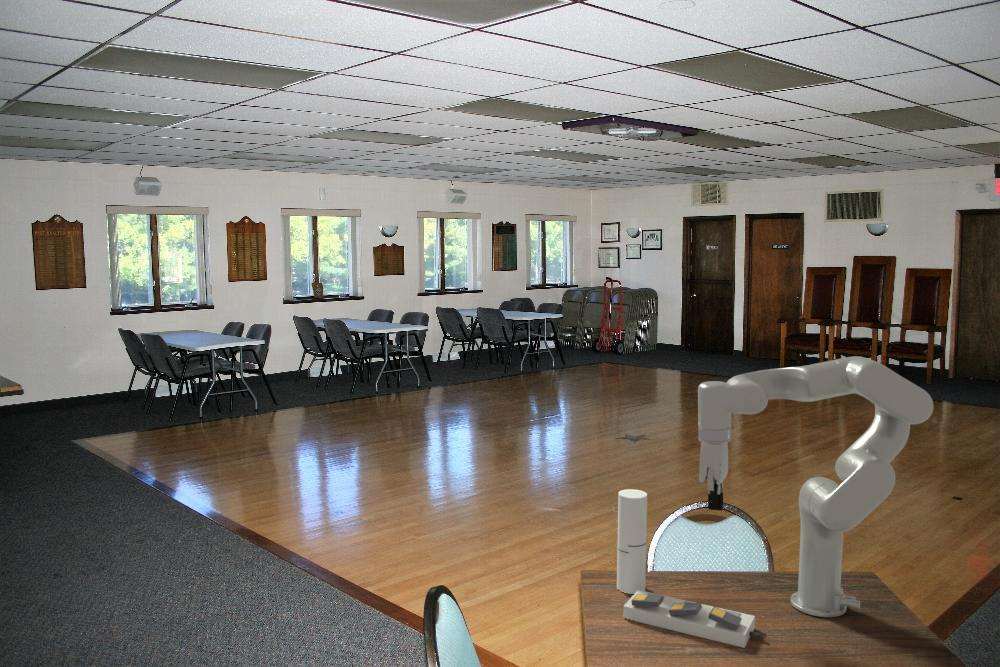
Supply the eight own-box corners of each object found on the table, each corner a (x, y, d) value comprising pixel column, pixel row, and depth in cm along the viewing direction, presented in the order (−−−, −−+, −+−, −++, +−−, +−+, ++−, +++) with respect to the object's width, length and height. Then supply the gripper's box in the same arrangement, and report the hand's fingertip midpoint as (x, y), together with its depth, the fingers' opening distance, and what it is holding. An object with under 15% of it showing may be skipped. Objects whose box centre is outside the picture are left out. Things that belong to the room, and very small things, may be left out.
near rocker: (740, 622, 180) (741, 617, 179) (736, 630, 176) (737, 625, 176) (712, 611, 182) (714, 606, 182) (708, 618, 179) (709, 613, 179)
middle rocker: (701, 607, 184) (700, 602, 184) (696, 615, 180) (695, 609, 180) (675, 608, 187) (674, 602, 187) (669, 615, 183) (668, 609, 183)
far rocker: (663, 600, 188) (662, 594, 188) (658, 607, 185) (657, 601, 185) (637, 598, 191) (637, 593, 191) (632, 605, 188) (631, 600, 188)
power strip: (768, 631, 182) (768, 618, 182) (758, 651, 174) (759, 637, 173) (637, 601, 197) (638, 588, 197) (623, 618, 189) (623, 605, 188)
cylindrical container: (644, 595, 200) (646, 499, 197) (615, 593, 202) (617, 497, 199) (645, 583, 207) (647, 490, 204) (617, 581, 209) (619, 488, 206)
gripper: (706, 425, 198) (707, 497, 200) (690, 440, 185) (692, 517, 187) (737, 427, 194) (738, 501, 197) (723, 443, 181) (724, 521, 183)
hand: (715, 508), depth 192 cm, fingers closed
